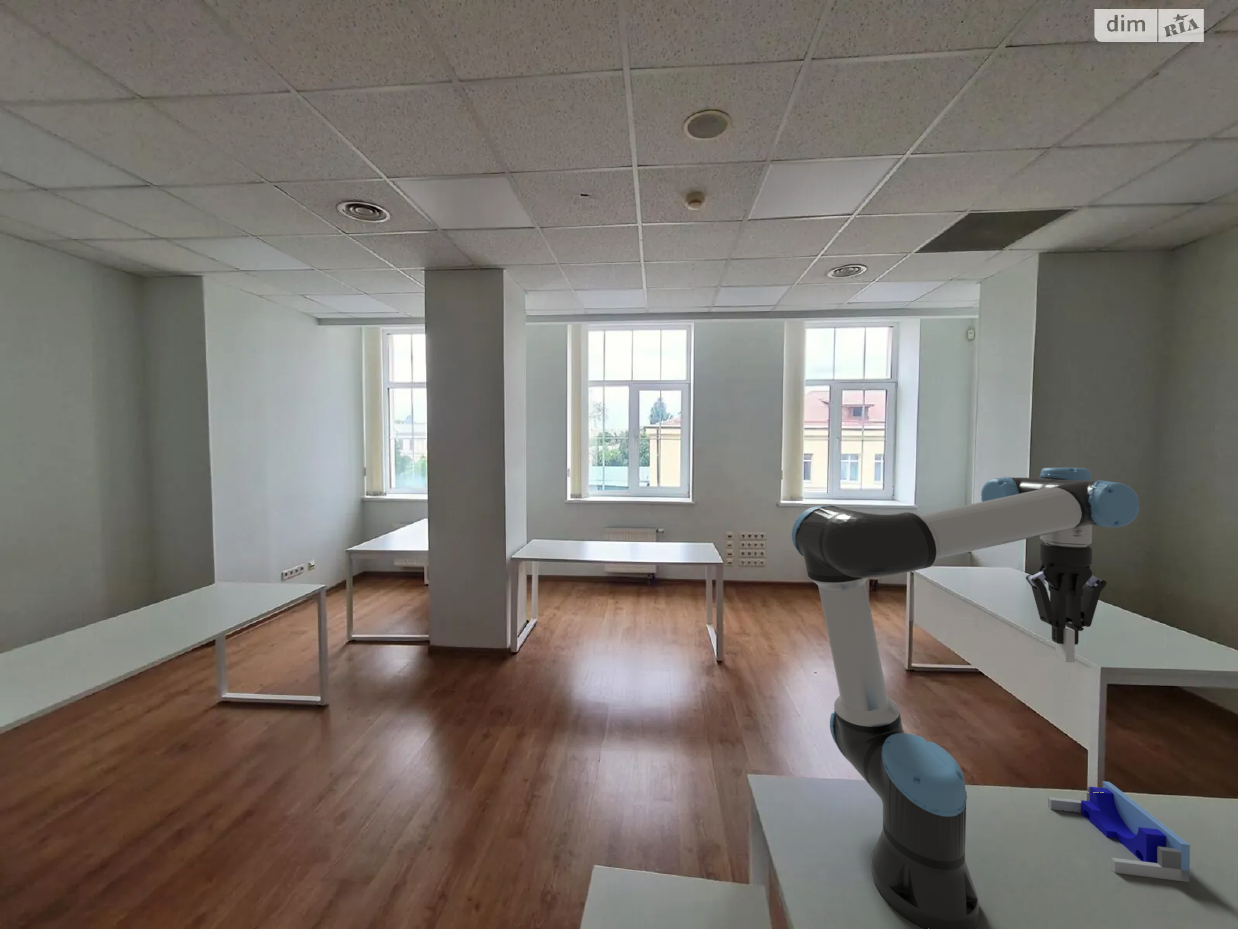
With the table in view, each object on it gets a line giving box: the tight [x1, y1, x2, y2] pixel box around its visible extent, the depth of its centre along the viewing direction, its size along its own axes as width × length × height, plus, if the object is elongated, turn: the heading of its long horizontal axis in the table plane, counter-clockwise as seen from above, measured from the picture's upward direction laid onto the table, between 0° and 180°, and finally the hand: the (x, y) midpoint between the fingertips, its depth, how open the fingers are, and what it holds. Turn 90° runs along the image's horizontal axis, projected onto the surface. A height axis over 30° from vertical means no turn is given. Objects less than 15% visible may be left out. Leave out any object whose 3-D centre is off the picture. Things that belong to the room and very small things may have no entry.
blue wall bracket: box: [1047, 780, 1191, 883], centre depth 87 cm, size 11×16×6 cm
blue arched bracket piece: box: [1080, 786, 1166, 863], centre depth 88 cm, size 12×4×6 cm, turn 170°
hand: (1064, 659), depth 93 cm, fingers closed
